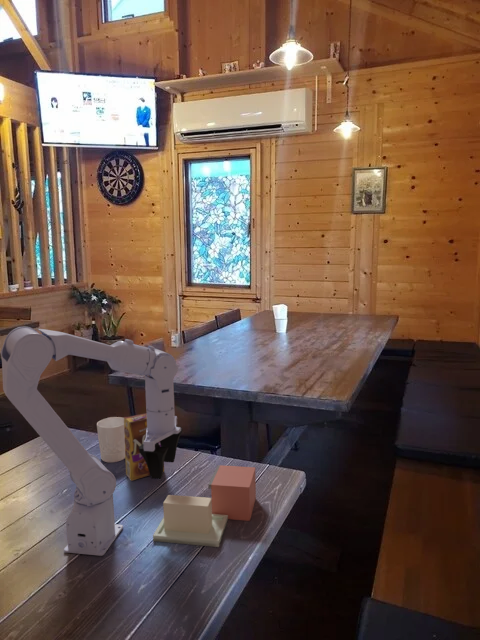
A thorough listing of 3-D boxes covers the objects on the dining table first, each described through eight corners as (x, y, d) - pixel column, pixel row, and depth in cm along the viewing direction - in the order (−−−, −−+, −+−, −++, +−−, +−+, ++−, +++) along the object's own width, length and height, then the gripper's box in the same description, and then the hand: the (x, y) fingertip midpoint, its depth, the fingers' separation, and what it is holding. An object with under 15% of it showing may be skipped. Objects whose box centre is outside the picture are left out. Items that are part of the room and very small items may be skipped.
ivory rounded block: (208, 533, 94) (207, 506, 94) (164, 530, 96) (163, 503, 95) (212, 524, 98) (211, 497, 97) (169, 521, 99) (168, 494, 98)
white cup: (135, 455, 132) (133, 420, 131) (113, 466, 126) (111, 429, 124) (114, 449, 136) (112, 415, 135) (92, 459, 130) (90, 424, 128)
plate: (218, 547, 91) (218, 541, 91) (153, 541, 93) (152, 535, 93) (228, 520, 100) (227, 515, 100) (167, 515, 102) (167, 510, 102)
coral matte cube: (249, 520, 100) (249, 487, 99) (209, 517, 101) (208, 484, 100) (255, 498, 108) (255, 467, 107) (218, 495, 110) (217, 465, 109)
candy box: (131, 482, 117) (128, 422, 115) (125, 475, 120) (122, 416, 118) (165, 472, 122) (163, 414, 119) (158, 466, 125) (155, 409, 123)
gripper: (166, 421, 92) (169, 488, 94) (189, 397, 106) (191, 456, 108) (132, 419, 93) (135, 485, 95) (158, 396, 107) (161, 454, 109)
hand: (163, 469), depth 102 cm, fingers open, 7 cm apart
